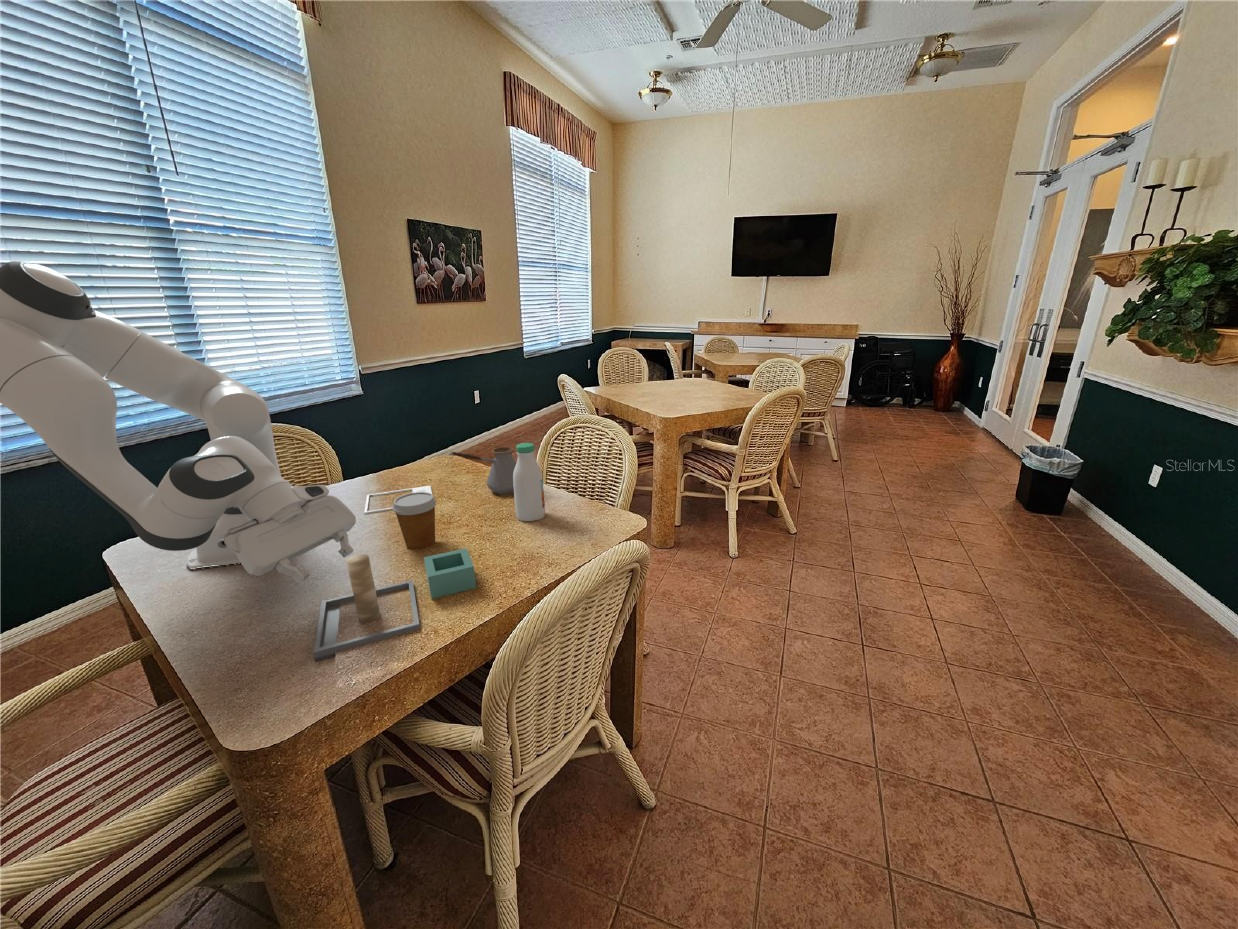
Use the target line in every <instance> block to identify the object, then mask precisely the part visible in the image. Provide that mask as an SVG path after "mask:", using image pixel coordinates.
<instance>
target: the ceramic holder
mask: <svg viewBox="0 0 1238 929" xmlns="http://www.w3.org/2000/svg"><path fill="white" fill-rule="evenodd" d="M423 561H424V568H425V573H426V579H427V584H428V585H427V586H428V589H429V593H430V600H435V599H438V598H441V597H442V598H443V597H446V596H450V595H455V594H458V593H462V592H467V591H470V590H474V589H477V581H476V572H475V567H474V566H475V565H474V563H473V561H472V558H471V556H470V554H469V551H468V548H461V549H457V550H452V551H447V552H442V553H438V554H433V555H429V556H424V557H423Z"/></svg>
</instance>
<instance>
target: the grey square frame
mask: <svg viewBox="0 0 1238 929" xmlns="http://www.w3.org/2000/svg"><path fill="white" fill-rule="evenodd" d="M414 587H415V586H414V581H413V579H412V580H407V581H403V582H399V583H394V584H389V585H385V586H380V587H377V588H376V587H375V590H376V595H377V596H380V595H384V594H387V593H392V592H396V591H400V590H404V589H407V588H408V589H409V595H410V603H411V610H412V618H413V622H412V623H408V624H405V625H400V626H396V627H392V628H390V629H385V630H381V631H378V632H373V633H371V634H366V635H362V636H359V637H355V638H351V639H347V640H344V641H340V642H338V632H339V624H340V612H341V611H340V610H341V605H342V604H345V603H349V602H355V599H354V595H353V593H351V594H346V595H342V596H337V597H334V598H330V599H325V600H324V599H323V600H321V602H320V608H319V615H318V620H317V625H316V626H317V627H316V633H315V638H314V645H313V651H312V653H313V656H314V657H313V658H314V661H315V662H319V661H323V660H326V659H329V658H333V657H336V653H338V652H340V651H341V652H342V651H345V650H349V649H353V648H357V647H358V646H362V645H367V644H370V643H374V642H378V641H381V640H385V639H388V638H392V637H393V638H394V637H395V636H399V635H405V634H407V633H410V632H415V631H418V630H421V626H420V620H419V612H418V607H417V600H416V593H415V588H414Z"/></svg>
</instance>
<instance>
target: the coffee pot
mask: <svg viewBox="0 0 1238 929" xmlns="http://www.w3.org/2000/svg"><path fill="white" fill-rule="evenodd" d="M513 451H514V448H513V447H509V446H499V447H496V448H493V449H491V453H492V454H493V456H494V458H493V459H492V458H486V457H480V456H477V455H473V454H470V453H462V452H460V451H459V452H457V451H451V453H450V454H449V456H451V455H452V457H449V459H450V460H452V459H453V458H454V456H457V457H459V458H460V457H462V458H465V459H471V460H476V461H477V460H478V461H483V462H488V463H492V464H491V467H490V470H489V473H488V476H487V479H486V484H485V485H486V486H487V488H488V489H489V490H490V491H493V493H494V494H497V493H498V494H497V495H510V494H509V493H511V494H514V486H513V472H514V469H515V466H516V463H517V461H516V460H515V458H514V456H513Z"/></svg>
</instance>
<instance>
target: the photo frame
mask: <svg viewBox="0 0 1238 929" xmlns="http://www.w3.org/2000/svg"><path fill="white" fill-rule="evenodd" d="M410 491H412V493H415V492H427V493H431V494H432V495H433V492H432V487H431V485H425V486H424V485H423V486H419V487H418V486H417V487H411V488H403V489H398V490H391V491H385V492H384V491H383V492H379V493H378V492H377V493H370V494H367V495H366V500H365V506H364V512H363V514H364V515H368V514H369V515H371V514H375V513H383V512H387V511H394V510H393V509H392V506H391V507H387V508H379V509H373V510H368V508H369V507H368V506H369V500H370V497H377V496H383V495H392V494H396V493H404V492H410Z"/></svg>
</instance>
